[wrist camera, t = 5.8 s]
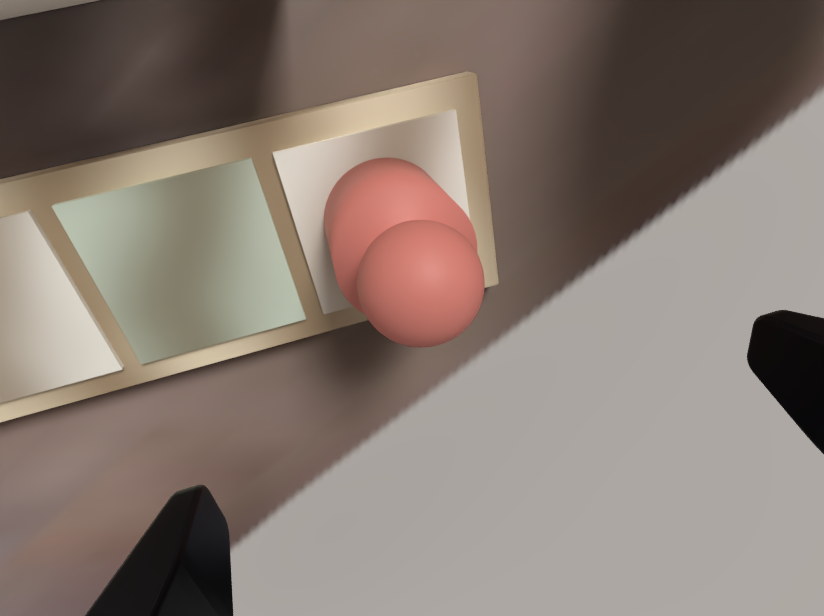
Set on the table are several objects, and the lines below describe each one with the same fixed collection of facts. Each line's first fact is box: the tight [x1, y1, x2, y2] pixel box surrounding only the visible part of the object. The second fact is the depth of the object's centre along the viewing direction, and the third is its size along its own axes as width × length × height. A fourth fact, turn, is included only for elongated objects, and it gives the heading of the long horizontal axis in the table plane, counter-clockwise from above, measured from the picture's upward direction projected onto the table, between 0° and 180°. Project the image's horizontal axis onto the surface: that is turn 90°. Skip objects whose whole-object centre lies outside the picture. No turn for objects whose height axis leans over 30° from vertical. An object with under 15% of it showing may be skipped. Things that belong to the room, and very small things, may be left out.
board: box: [0, 72, 499, 422], centre depth 16 cm, size 25×7×1 cm, turn 101°
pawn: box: [324, 157, 485, 347], centre depth 14 cm, size 4×4×6 cm
